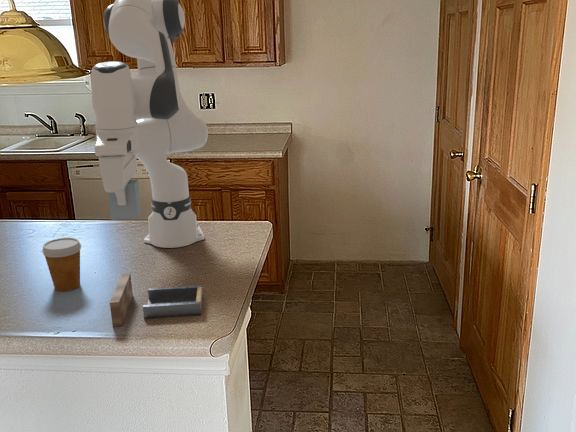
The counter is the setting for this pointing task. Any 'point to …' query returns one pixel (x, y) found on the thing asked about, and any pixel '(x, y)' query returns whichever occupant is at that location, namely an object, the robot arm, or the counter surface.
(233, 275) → the counter surface
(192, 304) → the keeper
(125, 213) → the block
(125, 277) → the brown wooden board
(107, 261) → the counter surface
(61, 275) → the disposable coffee cup
